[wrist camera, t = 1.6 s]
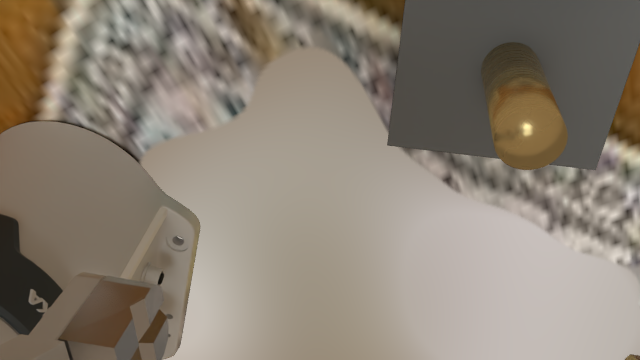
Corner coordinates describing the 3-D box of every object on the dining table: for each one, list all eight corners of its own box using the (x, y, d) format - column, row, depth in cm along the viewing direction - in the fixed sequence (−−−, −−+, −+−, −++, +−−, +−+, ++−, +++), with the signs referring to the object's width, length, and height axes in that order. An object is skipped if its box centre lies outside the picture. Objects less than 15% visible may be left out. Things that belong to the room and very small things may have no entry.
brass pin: (531, 97, 33) (557, 173, 26) (476, 91, 33) (487, 165, 27) (545, 45, 31) (576, 111, 25) (487, 39, 32) (501, 103, 25)
